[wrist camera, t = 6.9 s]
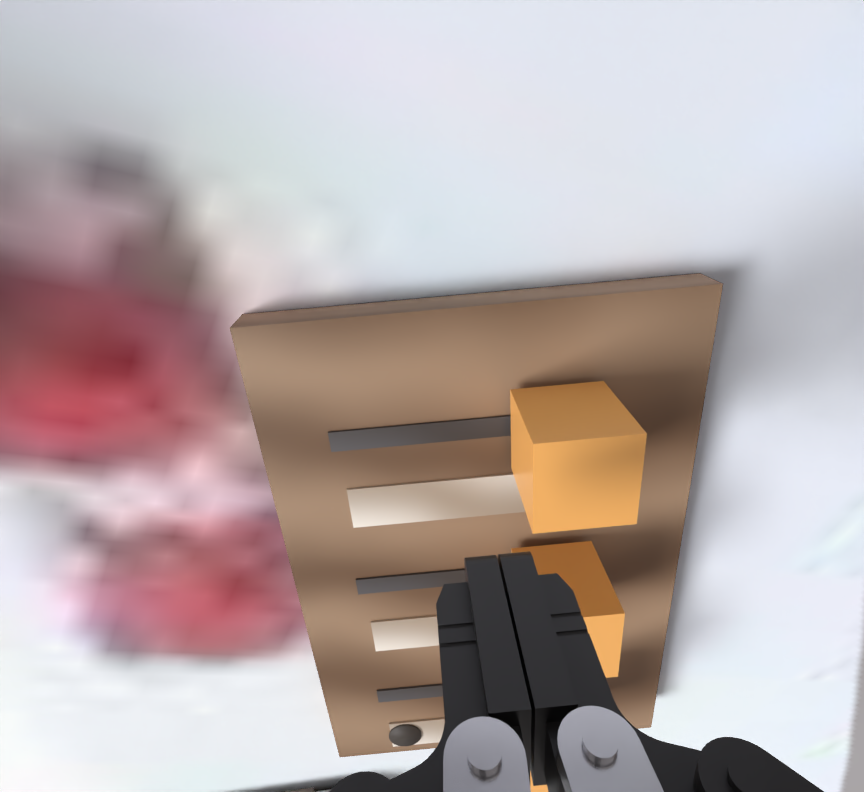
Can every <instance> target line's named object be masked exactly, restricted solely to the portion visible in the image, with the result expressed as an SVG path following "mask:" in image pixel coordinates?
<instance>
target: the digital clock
mask: <svg viewBox="0 0 864 792" xmlns="http://www.w3.org/2000/svg"><path fill="white" fill-rule="evenodd" d="M330 790H331V789H330ZM330 790H323V791H315V789H314V787H312V788H305V789H298V790H291V791H283V792H329V791H330Z"/></svg>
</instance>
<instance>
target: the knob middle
mask: <svg viewBox="0 0 864 792" xmlns="http://www.w3.org/2000/svg"><path fill="white" fill-rule="evenodd" d="M528 551H530V552H531V554H532V557H533V560H534V563H535V566H536V570H537V573H538V575H543V574H554V573H557V574H558V575H559V576H560V577H561V578H562V579H563V580H564V581H565V582H566V583H567V584H568V586H569V587H570V588H571V589H572V590H573V592H574V594H575V597H576V600H577V602H578V605H579V608H580V610H581V615H582V616H583V618H584V621H585V624H586V626H587V630H588V634H590V637H591V640H592V642H593V645H594V648H595V650H596V653H597V656H598V658H599V661H600V664H601V666H602V669H603V672H604V674H605V677H606V678H609V677H618V672H619V663H620V654H621V645H622V636H623V627H624V618H625V612H624V610H623V608H622V606H621V604H620V602H619V599H618V597H617V595H616V593H615V591H614V589H613V586H612V584H611V582H610V580H609V578H608V576H607V574H606V571H605V569H604V567H603V565H602V563H601V561H600V559H599V556H598V554H597V552H596V550H595V548H594V546H593V543H592V541H585V542H574V543H564V544H553V545H542V546H531V547H521V548H511V553H517V552H528Z"/></svg>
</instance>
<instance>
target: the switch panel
mask: <svg viewBox="0 0 864 792" xmlns="http://www.w3.org/2000/svg"><path fill="white" fill-rule="evenodd" d="M722 287H723V284H722V283H720V282H718V281H716V280H714V279H711V278H709V277H707V276H705V275H703V274H700V273H697V274H686V275H675V276H664V277H653V278H642V279H630V280H619V281H608V282H597V283H586V284H575V285H563V286H552V287H541V288H530V289H519V290H508V291H497V292H485V293H474V294H463V295H452V296H441V297H430V298H418V299H407V300H396V301H385V302H374V303H363V304H351V305H340V306H329V307H318V308H307V309H296V310H284V311H273V312H262V313H251V314H242V315H241V316H240V317H239V319H238V320H237V321H236V322H235V323H234V324H233V325H232V326H231V327H230V331H231V335H232V339H233V343H234V347H235V351H236V355H237V358H238V362H239V366H240V370H241V374H242V378H243V382H244V386H245V390H246V394H247V397H248V401H249V405H250V409H251V413H252V417H253V421H254V425H255V429H256V433H257V436H258V440H259V444H260V448H261V452H262V456H263V460H264V464H265V468H266V472H267V475H268V479H269V483H270V487H271V491H272V495H273V499H274V503H275V507H276V511H277V514H278V518H279V522H280V526H281V530H282V534H283V538H284V542H285V546H286V550H287V553H288V557H289V561H290V565H291V569H292V573H293V577H294V581H295V585H296V589H297V592H298V596H299V600H300V604H301V608H302V612H303V616H304V620H305V624H306V628H307V632H308V635H309V639H310V643H311V647H312V651H313V655H314V659H315V663H316V667H317V671H318V674H319V678H320V682H321V686H322V690H323V694H324V698H325V702H326V706H327V710H328V713H329V717H330V721H331V725H332V729H333V733H334V737H335V741H336V745H337V749H338V752H339V756H340V757H347V756H357V755H368V754H378V753H388V752H399V751H409V750H420V749H430V748H436V747H437V746H438V744H439V742H440V740H441V737H442V734H443V730H444V724H445V715H444V702H443V689H442V676H441V663H440V650H439V637H438V624H437V611H436V603H437V600H438V598H439V595H440V593H441V590H442V588H443V585H444V584H451V583H461V582H465V565H464V558H466V557H477V556H487V555H496V556H497V558H498V554H507V553H511V548H521V547H531V546H542V545H553V544H564V543H574V542H585V541H592V543H593V546H594V548H595V550H596V552H597V554H598V556H599V559H600V561H601V563H602V565H603V567H604V569H605V571H606V574H607V576H608V578H609V580H610V582H611V584H612V586H613V589H614V591H615V593H616V595H617V597H618V599H619V602H620V604H621V606H622V608H623V610H624V612H625V618H624V627H623V636H622V645H621V654H620V663H619V672H618V677H609V678H606V680H607V683H608V685H609V688H610V691H611V693H612V696H613V699H614V701H615V703H616V705H617V707H618V709H619V710H620V712H621V713H622V714H623V716H624V717H625V718H626V719H627V720H628V721H629V722H630V723H631V724H632V725H633V726H634V727H635V728H637V729H638V728H648V727H651V724H652V718H653V712H654V706H655V700H656V694H657V687H658V681H659V675H660V669H661V663H662V657H663V650H664V644H665V638H666V632H667V626H668V620H669V614H670V607H671V601H672V595H673V589H674V583H675V577H676V570H677V564H678V558H679V552H680V546H681V540H682V534H683V527H684V521H685V515H686V509H687V503H688V497H689V490H690V484H691V478H692V472H693V466H694V460H695V453H696V447H697V441H698V435H699V429H700V423H701V417H702V410H703V404H704V398H705V392H706V386H707V380H708V373H709V367H710V361H711V355H712V349H713V343H714V337H715V330H716V324H717V318H718V312H719V306H720V300H721V293H722ZM597 381H604V382H605V383H606V384H607V386H608V387H609V388H610V389H611V390H612V392H613V393H614V394H615V395H616V397H617V398H618V399H619V400H620V401H621V403H622V404H623V405H624V406H625V407H626V409H627V410H628V411H629V412H630V414H631V415H632V416H633V417H634V418H635V420H636V421H637V422H638V423H639V424H640V426H641V427H642V428H643V429H644V431H645V432H646V433H647V438H646V447H645V455H644V464H643V473H642V482H641V491H640V499H639V508H638V517H637V524H632V525H622V526H611V527H600V528H590V529H579V530H568V531H557V532H547V533H536V534H533V533H532V530H531V527H530V524H529V521H528V518H527V515H526V512H525V509H524V506H523V502H522V499H521V496H520V493H519V490H518V487H517V484H516V481H515V478H514V475H513V472H512V469H511V411H510V389H520V388H531V387H542V386H553V385H564V384H575V383H586V382H597Z"/></svg>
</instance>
